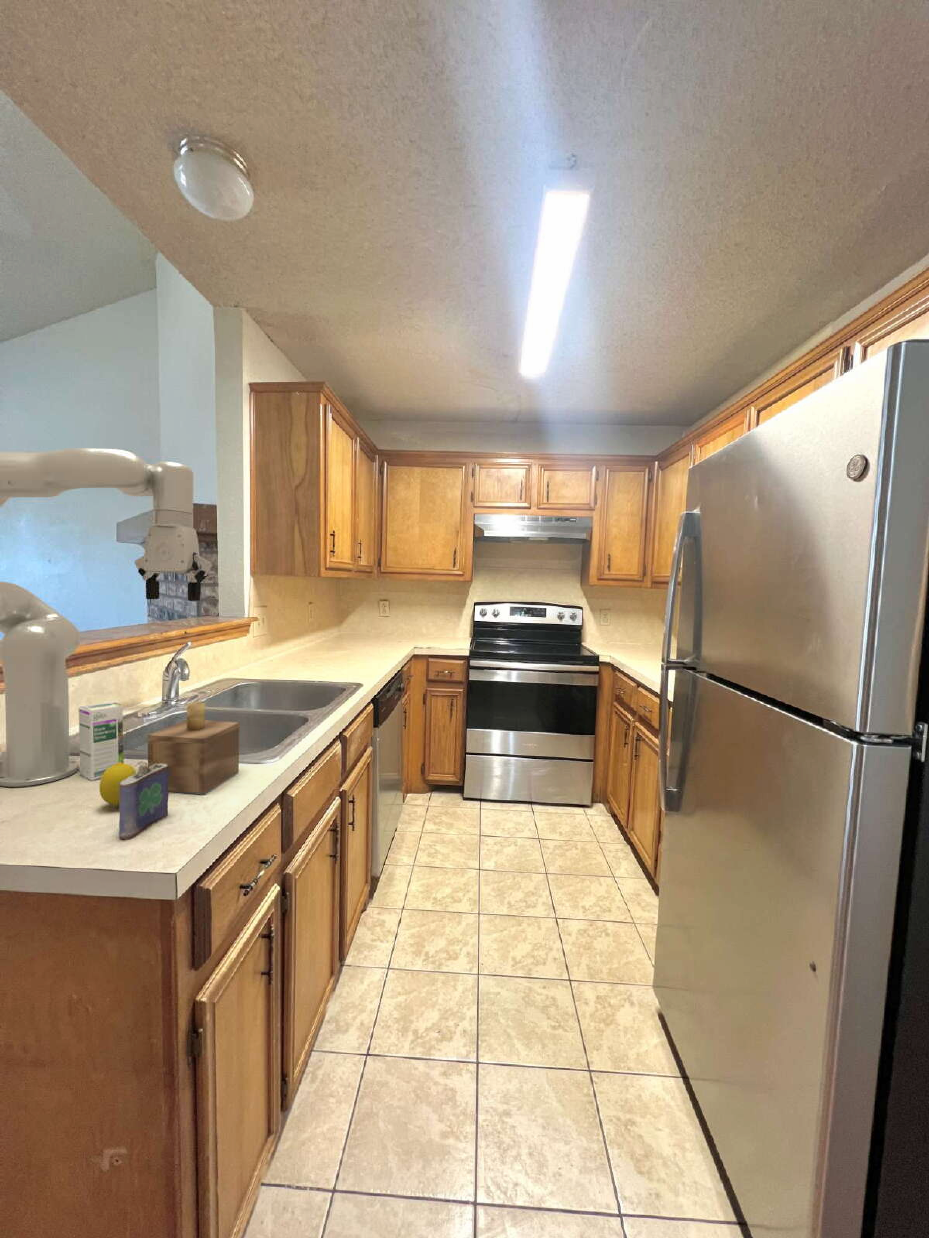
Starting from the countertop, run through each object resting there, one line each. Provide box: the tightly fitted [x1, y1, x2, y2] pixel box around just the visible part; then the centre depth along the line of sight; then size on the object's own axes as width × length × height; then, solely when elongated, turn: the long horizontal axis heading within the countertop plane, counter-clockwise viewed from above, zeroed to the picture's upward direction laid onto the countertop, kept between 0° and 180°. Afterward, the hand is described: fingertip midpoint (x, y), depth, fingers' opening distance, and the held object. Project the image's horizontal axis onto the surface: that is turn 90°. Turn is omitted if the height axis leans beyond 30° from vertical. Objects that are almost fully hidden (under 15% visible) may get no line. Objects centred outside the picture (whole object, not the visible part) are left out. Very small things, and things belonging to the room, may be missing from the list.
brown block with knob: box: [147, 701, 240, 793], centre depth 96 cm, size 12×12×16 cm
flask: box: [118, 760, 170, 841], centre depth 78 cm, size 9×3×11 cm, turn 173°
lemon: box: [99, 762, 137, 807], centre depth 84 cm, size 6×6×8 cm
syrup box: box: [78, 700, 124, 782], centre depth 98 cm, size 6×6×14 cm
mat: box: [168, 771, 239, 796], centre depth 97 cm, size 11×11×1 cm
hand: (173, 599), depth 105 cm, fingers open, 9 cm apart
